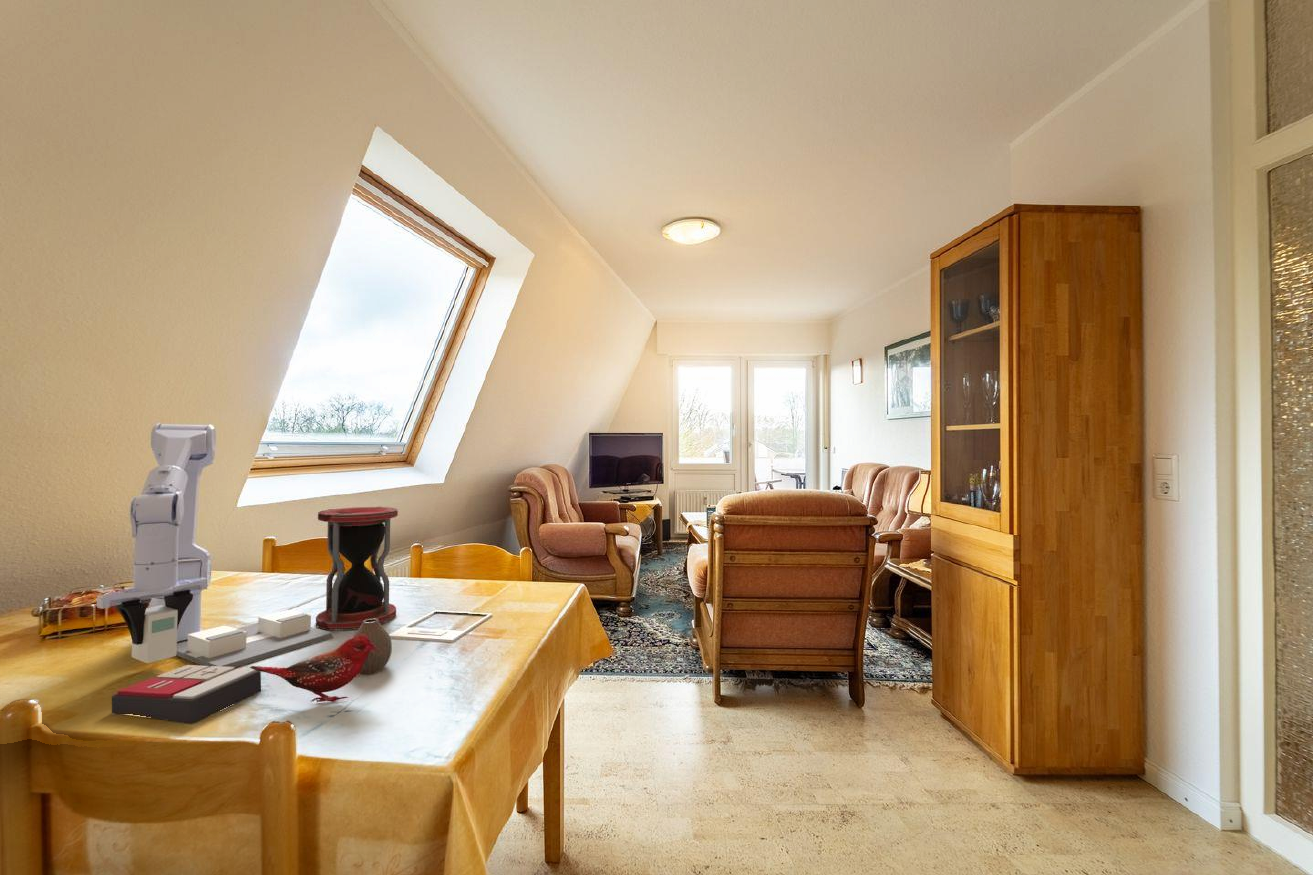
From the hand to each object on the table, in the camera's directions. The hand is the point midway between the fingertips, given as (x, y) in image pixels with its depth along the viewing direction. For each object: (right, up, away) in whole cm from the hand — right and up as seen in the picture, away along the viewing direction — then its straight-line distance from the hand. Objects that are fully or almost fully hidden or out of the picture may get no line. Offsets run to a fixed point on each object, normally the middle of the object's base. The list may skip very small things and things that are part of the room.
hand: (154, 639), depth 96 cm
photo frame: (+41, -7, +25) cm, 48 cm away
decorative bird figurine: (+36, -6, -12) cm, 38 cm away
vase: (+38, -6, +1) cm, 38 cm away
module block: (0, -3, 0) cm, 3 cm away
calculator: (+16, -6, -12) cm, 21 cm away
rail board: (+8, -6, +13) cm, 16 cm away
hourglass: (+20, -6, +29) cm, 36 cm away
